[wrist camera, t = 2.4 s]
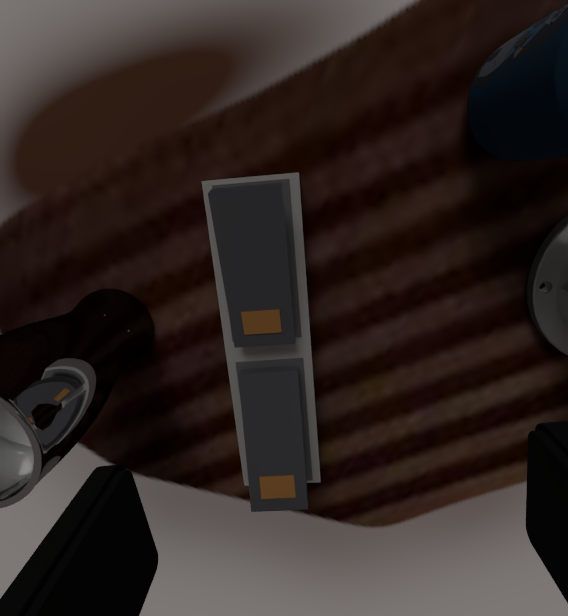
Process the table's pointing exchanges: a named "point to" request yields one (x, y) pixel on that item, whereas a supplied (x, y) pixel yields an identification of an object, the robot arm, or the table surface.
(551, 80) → the soda can
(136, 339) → the beer glass
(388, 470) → the table surface
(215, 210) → the outlet rocker
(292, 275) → the power strip
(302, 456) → the outlet rocker
